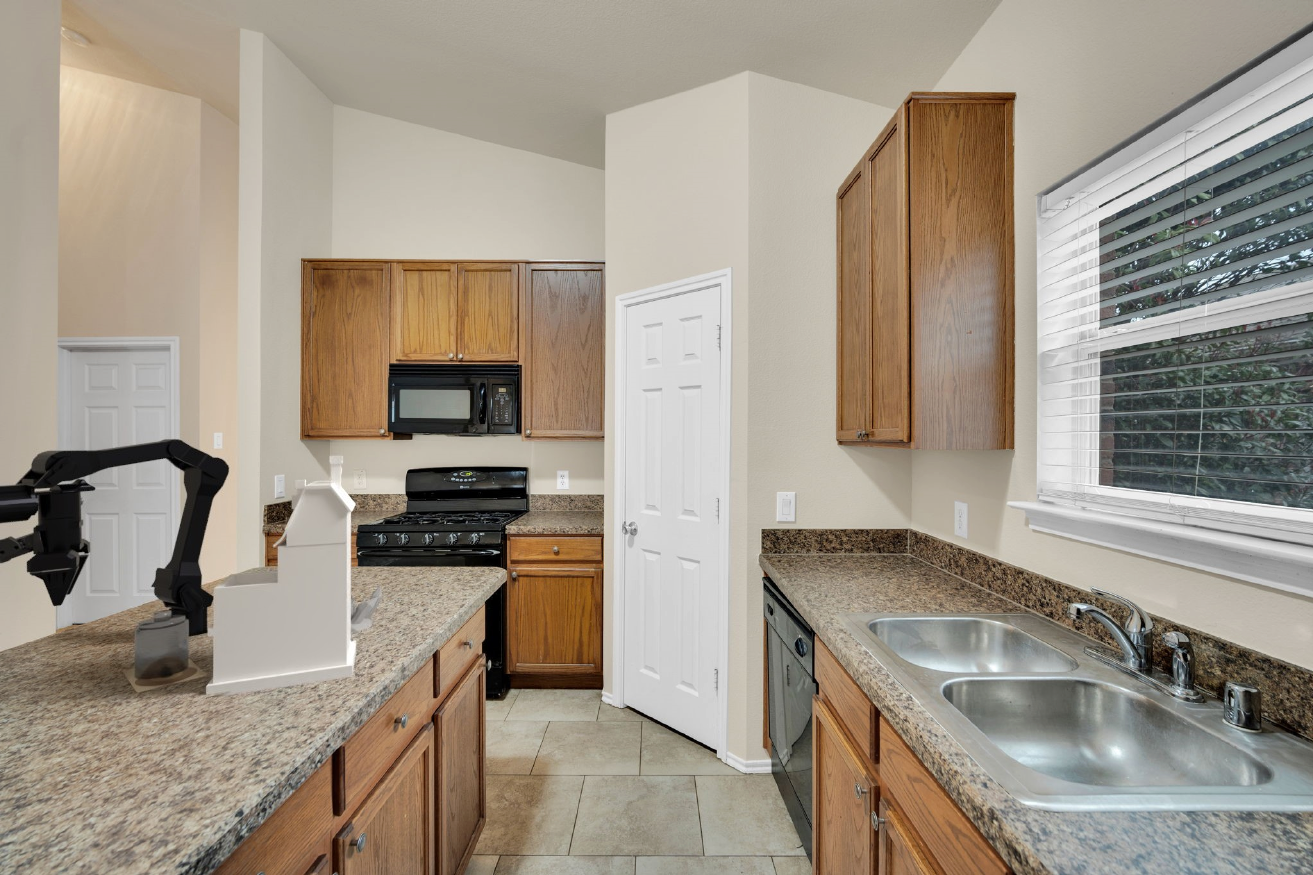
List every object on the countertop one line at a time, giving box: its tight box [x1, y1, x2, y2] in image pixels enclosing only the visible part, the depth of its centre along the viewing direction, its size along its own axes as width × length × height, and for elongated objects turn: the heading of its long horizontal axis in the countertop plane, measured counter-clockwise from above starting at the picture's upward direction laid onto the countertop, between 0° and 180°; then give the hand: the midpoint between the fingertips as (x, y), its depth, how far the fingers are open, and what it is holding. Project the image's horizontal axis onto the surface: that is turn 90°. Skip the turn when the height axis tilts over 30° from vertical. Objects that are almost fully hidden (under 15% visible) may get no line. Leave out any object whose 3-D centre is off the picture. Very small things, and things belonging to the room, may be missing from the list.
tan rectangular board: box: [121, 658, 208, 693], centre depth 107 cm, size 10×14×1 cm, turn 50°
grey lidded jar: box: [134, 609, 190, 679], centre depth 108 cm, size 8×8×11 cm
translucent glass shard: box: [351, 584, 383, 633], centre depth 136 cm, size 10×13×15 cm
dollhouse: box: [205, 455, 357, 699], centre depth 109 cm, size 22×15×40 cm
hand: (62, 599), depth 111 cm, fingers open, 9 cm apart
